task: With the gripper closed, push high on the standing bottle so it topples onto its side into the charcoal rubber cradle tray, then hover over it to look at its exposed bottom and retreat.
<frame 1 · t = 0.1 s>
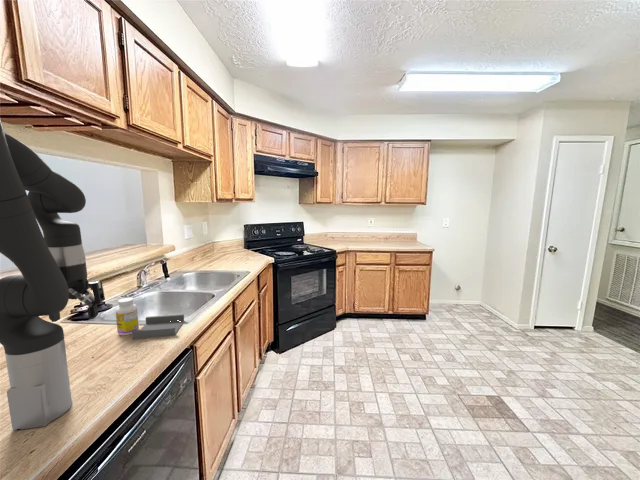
hand: (74, 319, 73), 17 cm above the worktop, tool pointing down, fingers open, 8 cm apart
cradle tray: (160, 329, 105), on the worktop
supplement bottle: (128, 332, 103), on the worktop
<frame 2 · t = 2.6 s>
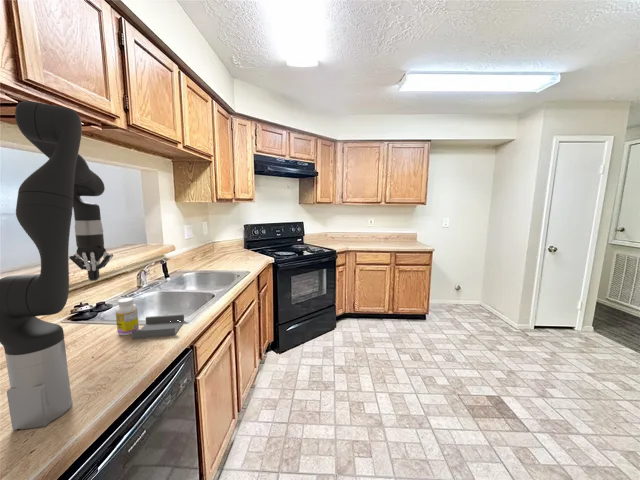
hand: (94, 280, 98), 21 cm above the worktop, tool pointing down, fingers closed
nothing on the worktop moved.
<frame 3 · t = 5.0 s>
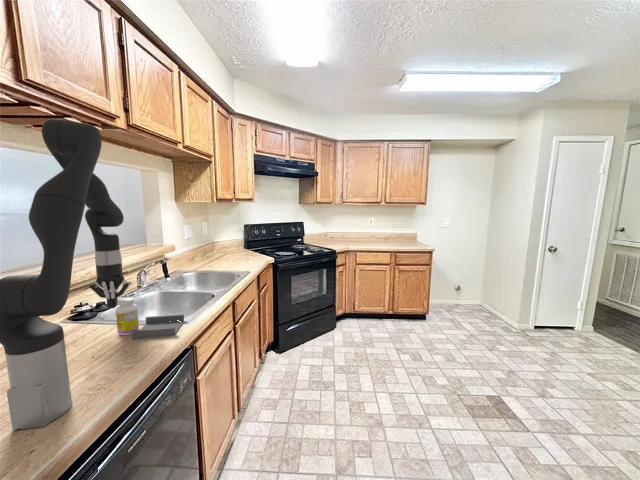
hand: (113, 307, 100), 10 cm above the worktop, tool pointing down, fingers closed
supplement bottle: (128, 332, 103), on the worktop, touching gripper
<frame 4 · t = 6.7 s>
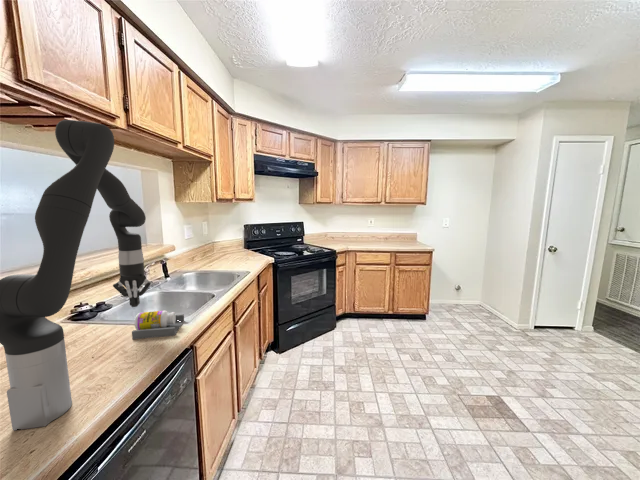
hand: (135, 306, 102), 10 cm above the worktop, tool pointing down, fingers closed
supplement bottle: (136, 321, 103), point 4 cm above the worktop, touching cradle tray
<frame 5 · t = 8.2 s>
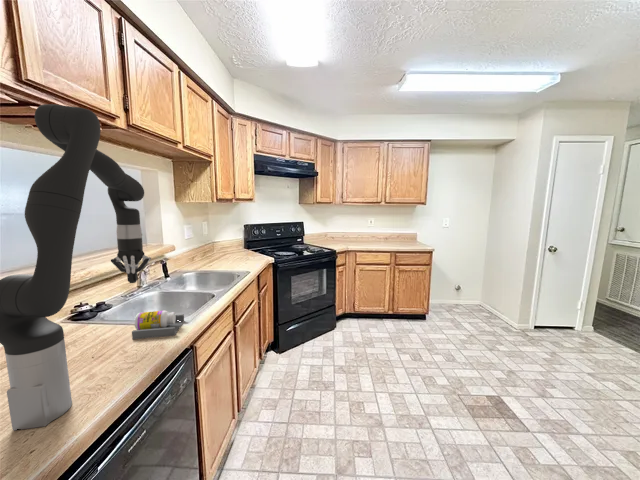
hand: (133, 282, 101), 19 cm above the worktop, tool pointing down, fingers closed
nothing on the worktop moved.
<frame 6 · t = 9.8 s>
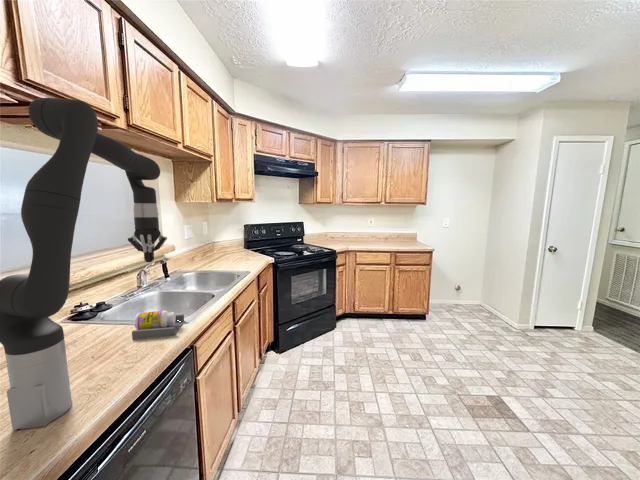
hand: (149, 261, 101), 27 cm above the worktop, tool pointing down, fingers closed
nothing on the worktop moved.
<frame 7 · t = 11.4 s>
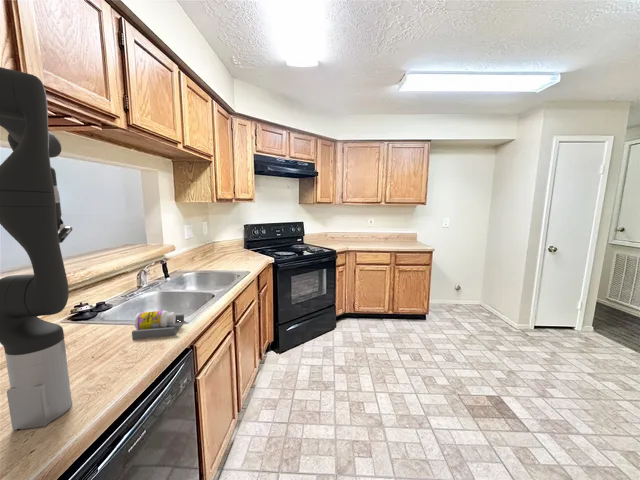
hand: (49, 257, 83), 32 cm above the worktop, tool pointing down, fingers closed
nothing on the worktop moved.
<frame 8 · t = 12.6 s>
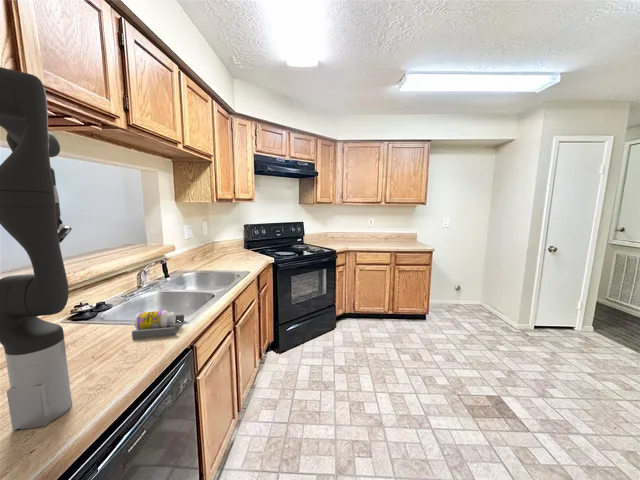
hand: (48, 257, 83), 32 cm above the worktop, tool pointing down, fingers closed
nothing on the worktop moved.
at the end: supplement bottle tilted 90°; supplement bottle inside the target area (1.4 cm from its centre), point 3.7 cm above the worktop; supplement bottle touching cradle tray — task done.
